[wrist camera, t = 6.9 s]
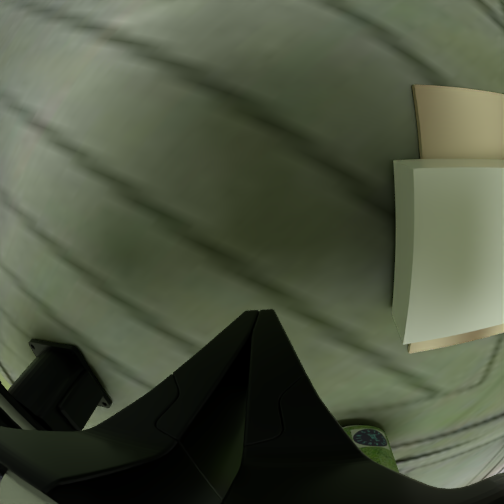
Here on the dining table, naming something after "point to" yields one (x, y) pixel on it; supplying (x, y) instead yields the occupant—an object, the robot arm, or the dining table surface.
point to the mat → (458, 150)
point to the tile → (448, 247)
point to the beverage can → (372, 444)
